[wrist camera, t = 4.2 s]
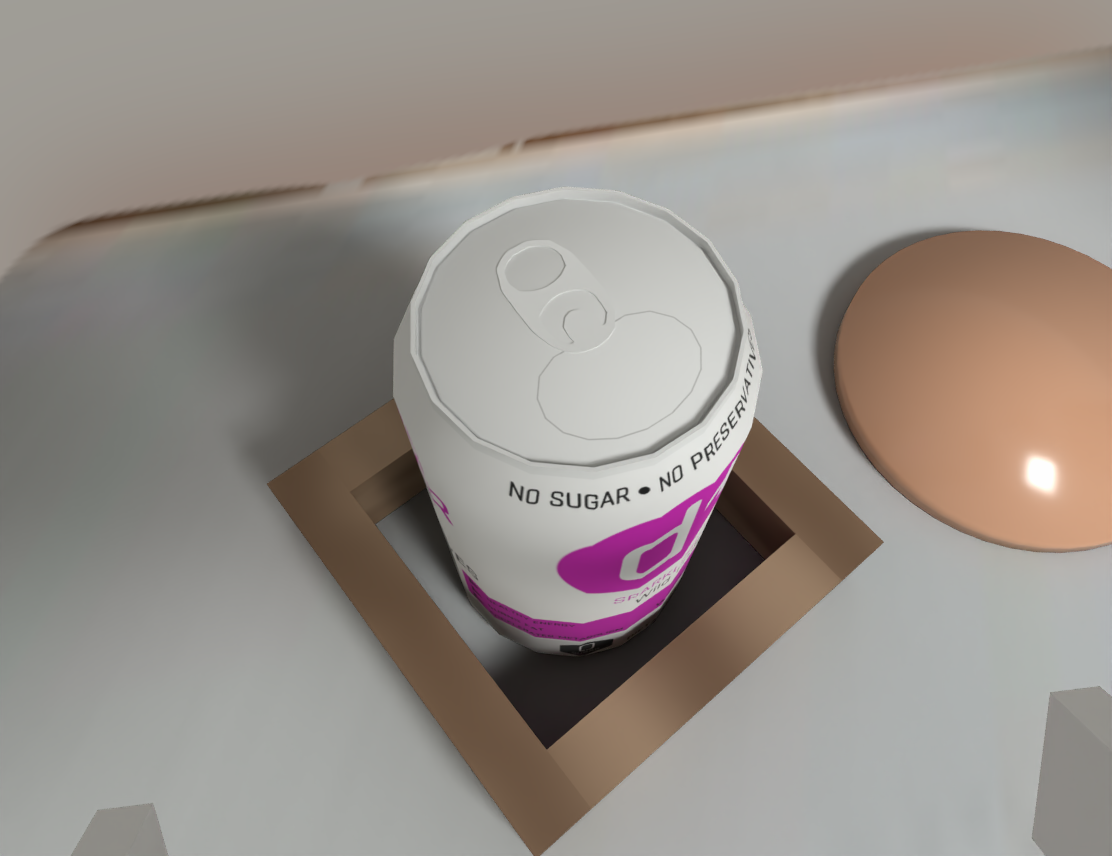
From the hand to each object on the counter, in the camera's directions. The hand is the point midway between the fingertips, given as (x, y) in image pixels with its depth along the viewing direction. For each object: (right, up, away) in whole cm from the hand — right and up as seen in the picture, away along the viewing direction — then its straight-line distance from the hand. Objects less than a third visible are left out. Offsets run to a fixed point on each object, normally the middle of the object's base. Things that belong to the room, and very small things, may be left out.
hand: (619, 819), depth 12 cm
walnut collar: (0, +1, +18) cm, 18 cm away
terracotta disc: (+17, +7, +21) cm, 28 cm away
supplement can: (0, +1, +19) cm, 19 cm away
